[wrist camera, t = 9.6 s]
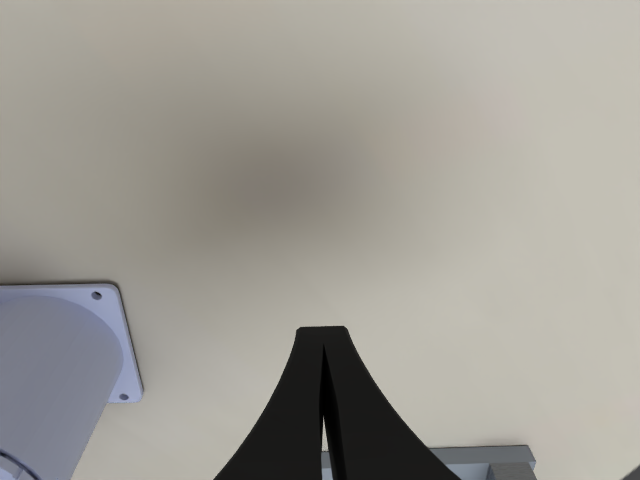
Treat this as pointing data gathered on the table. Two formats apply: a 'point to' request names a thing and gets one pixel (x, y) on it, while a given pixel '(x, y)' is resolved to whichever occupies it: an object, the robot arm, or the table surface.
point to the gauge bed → (465, 460)
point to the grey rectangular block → (510, 471)
